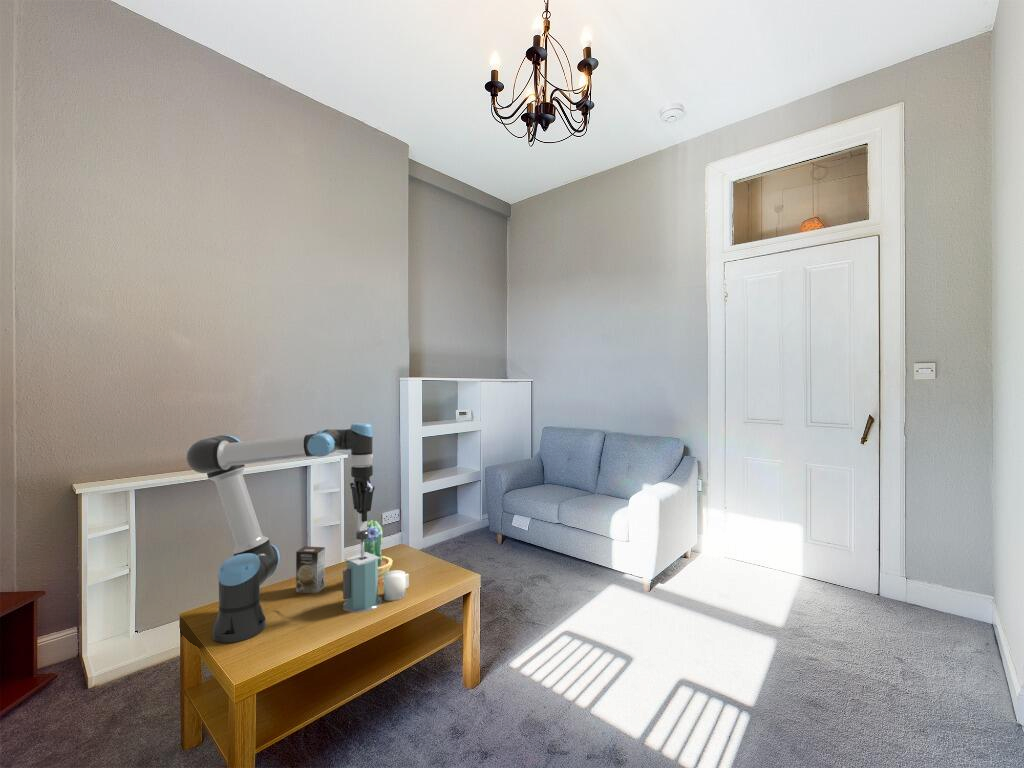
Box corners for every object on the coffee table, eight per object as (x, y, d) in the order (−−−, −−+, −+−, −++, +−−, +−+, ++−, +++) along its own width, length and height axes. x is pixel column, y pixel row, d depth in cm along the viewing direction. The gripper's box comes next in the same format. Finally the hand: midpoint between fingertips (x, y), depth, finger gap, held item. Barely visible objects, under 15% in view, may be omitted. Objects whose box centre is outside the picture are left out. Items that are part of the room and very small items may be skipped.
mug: (391, 605, 171) (391, 580, 171) (379, 598, 176) (379, 574, 176) (414, 595, 179) (414, 572, 179) (401, 589, 184) (401, 566, 184)
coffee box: (295, 592, 182) (294, 551, 182) (304, 585, 188) (303, 546, 188) (317, 593, 181) (317, 552, 181) (325, 586, 187) (325, 546, 187)
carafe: (351, 614, 162) (351, 567, 162) (336, 606, 168) (336, 560, 169) (382, 602, 171) (382, 557, 171) (367, 594, 178) (367, 551, 178)
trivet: (355, 618, 161) (355, 616, 161) (335, 606, 170) (335, 604, 170) (390, 604, 171) (390, 601, 171) (369, 593, 181) (369, 591, 181)
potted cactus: (345, 587, 186) (345, 524, 186) (368, 572, 201) (367, 514, 201) (379, 592, 181) (378, 528, 182) (399, 576, 196) (399, 517, 196)
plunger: (358, 582, 165) (358, 536, 166) (347, 577, 170) (347, 532, 171) (377, 576, 171) (377, 531, 171) (366, 571, 176) (365, 527, 176)
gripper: (380, 466, 170) (381, 530, 170) (361, 462, 178) (362, 524, 178) (362, 468, 164) (363, 536, 164) (343, 465, 173) (343, 528, 172)
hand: (362, 529), depth 171 cm, fingers closed
